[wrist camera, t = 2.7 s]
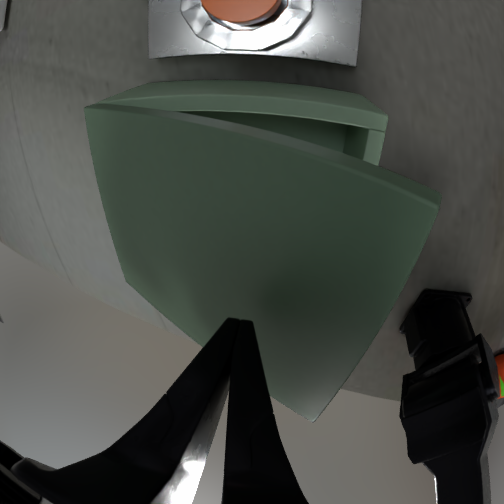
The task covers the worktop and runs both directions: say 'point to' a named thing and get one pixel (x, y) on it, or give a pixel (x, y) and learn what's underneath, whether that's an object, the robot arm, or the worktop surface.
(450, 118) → the worktop surface
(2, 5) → the spoon rest
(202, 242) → the lid
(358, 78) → the worktop surface
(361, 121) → the fryer
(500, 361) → the clementine
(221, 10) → the button
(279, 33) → the control panel
